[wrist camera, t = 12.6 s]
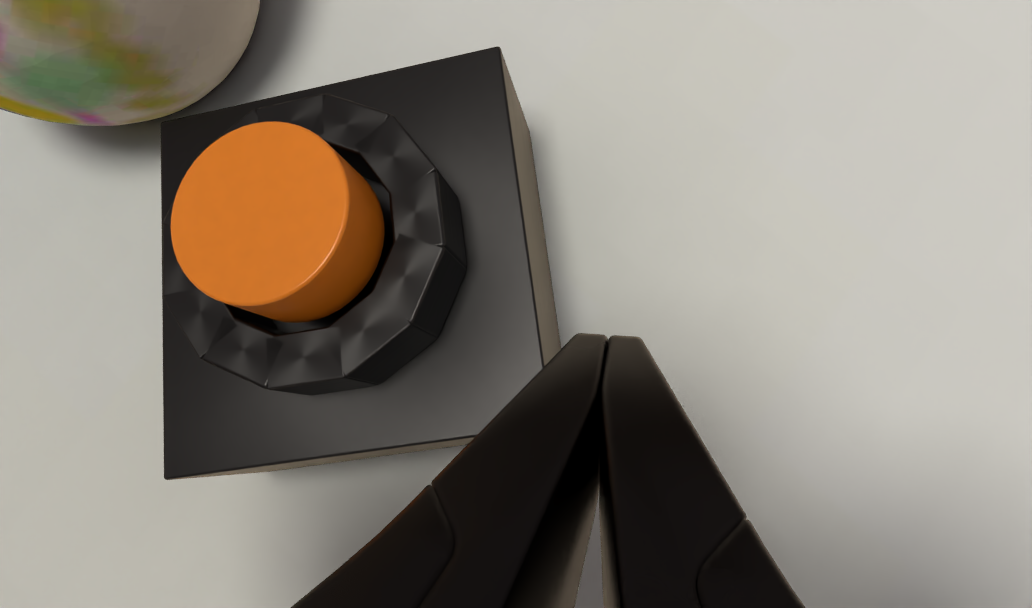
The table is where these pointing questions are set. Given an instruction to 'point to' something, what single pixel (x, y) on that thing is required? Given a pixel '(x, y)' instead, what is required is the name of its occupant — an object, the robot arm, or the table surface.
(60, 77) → the decorative egg
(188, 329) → the black button base
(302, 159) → the button
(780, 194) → the table surface
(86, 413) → the table surface
